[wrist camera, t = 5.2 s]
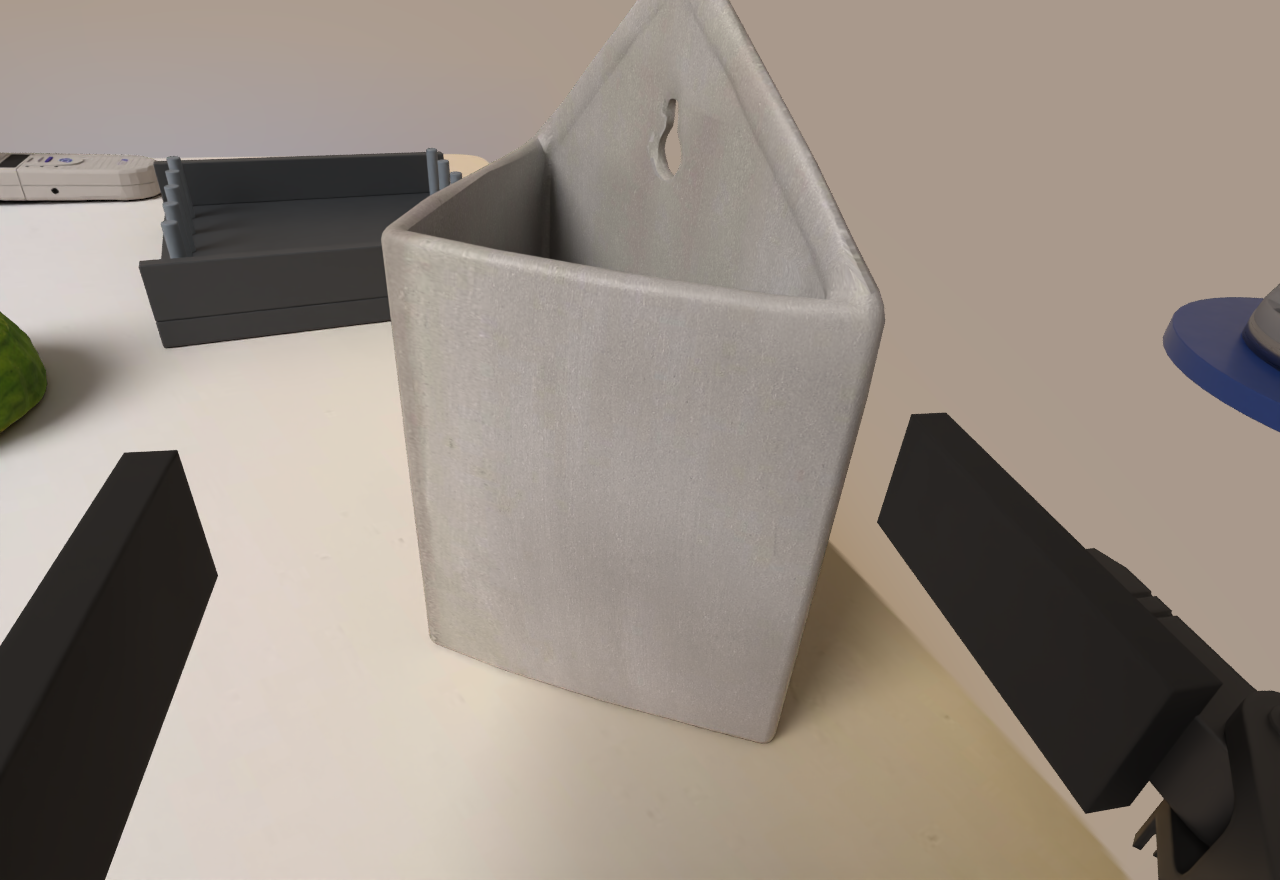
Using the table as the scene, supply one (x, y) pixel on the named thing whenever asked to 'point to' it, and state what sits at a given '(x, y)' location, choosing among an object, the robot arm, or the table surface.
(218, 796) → the table surface
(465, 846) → the table surface
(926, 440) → the robot arm
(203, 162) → the dish rack
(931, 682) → the table surface
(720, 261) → the planter
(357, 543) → the table surface
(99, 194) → the electronic device
